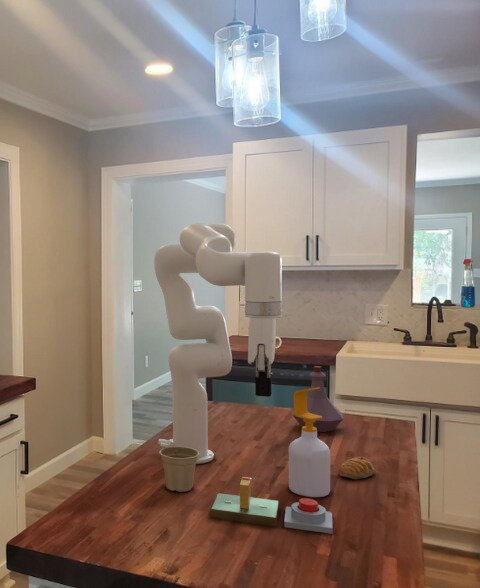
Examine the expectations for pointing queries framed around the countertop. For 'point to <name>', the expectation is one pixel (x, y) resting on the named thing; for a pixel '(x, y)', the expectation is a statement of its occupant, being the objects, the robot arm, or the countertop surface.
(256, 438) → the countertop surface
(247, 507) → the yellow bar
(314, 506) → the button
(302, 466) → the soap bottle
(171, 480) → the flower pot
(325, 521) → the grey square piece
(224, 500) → the plate
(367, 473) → the pastry
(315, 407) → the flask
